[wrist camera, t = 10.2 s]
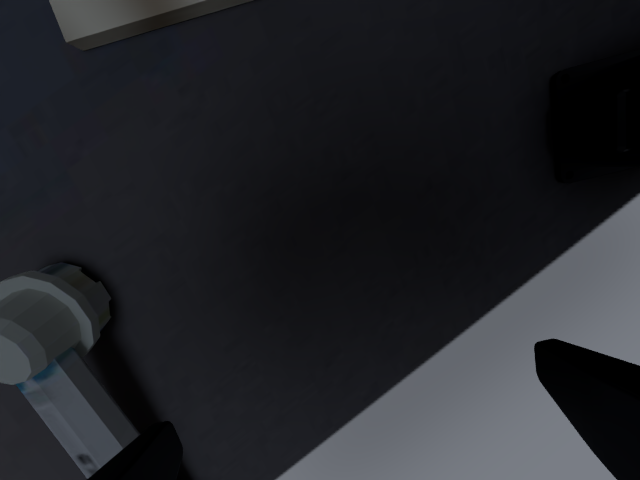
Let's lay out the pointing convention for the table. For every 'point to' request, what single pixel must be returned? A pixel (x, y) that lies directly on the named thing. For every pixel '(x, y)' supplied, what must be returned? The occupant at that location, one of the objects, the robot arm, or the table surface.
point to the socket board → (125, 17)
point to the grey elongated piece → (62, 360)
